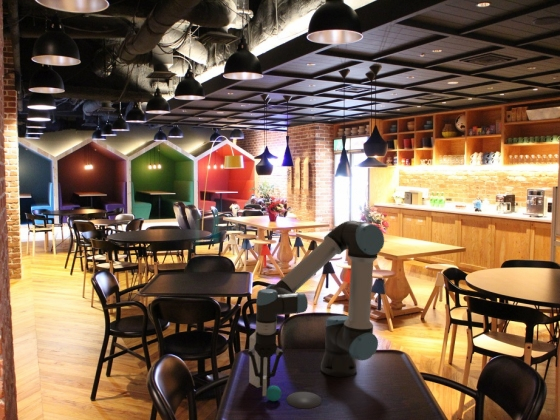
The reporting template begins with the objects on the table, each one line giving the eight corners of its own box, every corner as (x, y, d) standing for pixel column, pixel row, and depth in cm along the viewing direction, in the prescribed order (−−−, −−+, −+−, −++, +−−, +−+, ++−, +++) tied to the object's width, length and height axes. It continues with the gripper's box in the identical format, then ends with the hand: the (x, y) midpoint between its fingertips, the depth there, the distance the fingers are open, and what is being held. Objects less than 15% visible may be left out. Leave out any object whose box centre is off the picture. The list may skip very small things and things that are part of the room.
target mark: (319, 392, 190) (319, 391, 190) (323, 408, 177) (323, 407, 177) (285, 392, 189) (285, 391, 189) (287, 408, 176) (287, 408, 176)
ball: (272, 399, 185) (283, 390, 185) (273, 407, 180) (284, 397, 180) (263, 389, 185) (274, 379, 185) (263, 396, 179) (275, 386, 179)
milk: (257, 388, 193) (257, 333, 191) (249, 382, 198) (249, 329, 196) (270, 384, 197) (270, 330, 195) (261, 378, 201) (261, 326, 200)
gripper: (248, 334, 177) (246, 398, 178) (284, 335, 177) (282, 399, 179) (248, 328, 184) (247, 389, 186) (283, 329, 184) (281, 390, 186)
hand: (264, 394), depth 182 cm, fingers closed
